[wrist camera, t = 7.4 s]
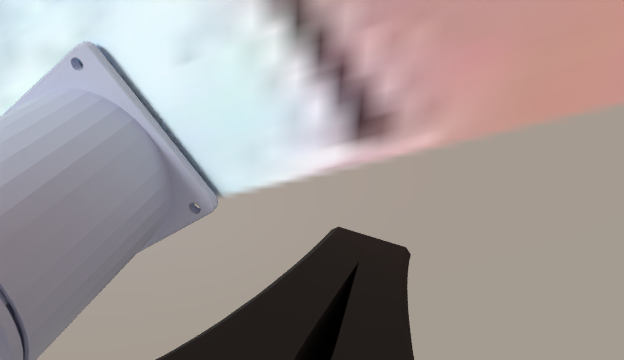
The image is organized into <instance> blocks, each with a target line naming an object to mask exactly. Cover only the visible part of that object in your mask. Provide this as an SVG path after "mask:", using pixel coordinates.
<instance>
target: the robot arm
mask: <svg viewBox="0 0 624 360" xmlns="http://www.w3.org/2000/svg"><path fill="white" fill-rule="evenodd" d="M78 59H80V60H81V62H82V64H83V67H82V66H81V65H80V64H79V62H78ZM194 203H196V204H197V205H198V206H199V207H200V208H197V207H196V206H195V205H194ZM217 205H218V200H217V197H216V195H215V194H214V193H213V191H212V190H211V189H210V188H209V186H208V185H207V184H206V183H205V181H204V180H203V179H202V178H201V176H200V175H199V174H198V173H197V171H196V170H195V169H194V168H193V166H192V165H191V164H190V163H189V161H188V160H187V159H186V158H185V156H184V155H183V154H182V153H181V151H180V150H179V149H178V148H177V146H176V145H175V144H174V143H173V141H172V140H171V139H170V138H169V136H168V135H167V134H166V133H165V131H164V130H163V129H162V128H161V126H160V125H159V124H158V123H157V121H156V120H155V119H154V118H153V116H152V115H151V114H150V113H149V111H148V110H147V109H146V107H145V106H144V105H143V104H142V102H141V101H140V100H139V99H138V97H137V96H136V95H135V94H134V92H133V91H132V90H131V89H130V87H129V86H128V85H127V84H126V82H125V81H124V80H123V79H122V77H121V76H120V75H119V74H118V72H117V71H116V70H115V69H114V67H113V66H112V65H111V64H110V62H109V61H108V60H107V59H106V57H105V56H104V55H103V54H102V52H101V51H100V50H99V49H98V47H97V46H95V45H94V44H93V43H91V42H83V43H80V44H78V45H76V46H75V47H74V48H73V49H72V50H71V51H70V52H69V53H68V54H67V55H66V56H65V57H64V58H62V59H61V60H60V61H59V62H58V63H57V64H56V65H55V66H54V67H53V68H52V69H51V70H50V71H49V72H48V73H47V74H45V75H44V76H43V77H42V78H41V79H40V80H39V81H38V82H37V83H36V84H35V85H34V86H33V87H32V88H31V89H30V90H28V91H27V92H26V93H25V94H24V95H23V96H22V97H21V98H20V99H19V100H18V101H17V102H16V103H15V104H14V105H13V106H12V107H10V108H9V109H8V110H7V111H6V112H5V113H4V114H3V115H2V116H1V117H0V360H36V359H37V358H38V357H39V356H40V355H41V354H42V353H43V352H44V351H45V350H46V349H47V348H48V347H49V346H50V344H52V342H53V341H54V340H55V339H56V338H57V337H58V336H59V335H60V334H61V333H62V332H63V331H64V330H65V328H67V326H69V324H70V323H71V322H72V321H73V320H74V319H75V318H76V317H77V316H78V315H79V314H80V313H81V312H82V311H83V310H84V309H85V307H86V306H87V305H88V304H89V303H90V302H91V301H92V300H93V299H94V298H95V297H96V296H97V295H98V294H99V293H100V292H101V291H102V289H103V288H104V287H105V286H106V285H107V284H108V283H109V282H110V281H111V280H112V279H113V278H114V277H115V276H116V275H117V274H118V273H119V271H120V270H121V269H122V268H123V267H124V266H125V265H126V264H127V263H128V262H129V261H130V260H131V259H132V258H133V256H135V254H136V253H138V252H140V251H142V250H144V249H145V248H147V247H149V246H151V245H153V244H154V243H156V242H158V241H160V240H162V239H164V238H166V237H167V236H169V235H171V234H173V233H175V232H177V231H178V230H180V229H182V228H184V227H186V226H188V225H189V224H191V223H193V222H195V221H197V220H199V219H200V218H202V217H204V216H206V215H208V214H210V213H211V212H212V211H213V210H214V209H215V208H216V207H217ZM409 259H410V253H409V251H408V250H407V248H406V247H403V246H400V245H396V244H393V243H390V242H387V241H383V240H380V239H376V238H373V237H370V236H367V235H364V234H360V233H357V232H354V231H350V230H347V229H344V228H341V227H337V228H335V229H333V230H331V231H330V232H329V233H328V234H327V235H326V236H325V237H324V238H323V239H322V240H321V241H320V242H319V243H318V244H317V245H316V246H315V247H314V248H313V249H312V250H311V251H310V252H309V253H308V254H306V255H305V256H304V257H303V258H302V259H301V260H300V261H299V262H297V264H295V265H294V266H293V267H292V268H290V269H289V270H288V271H287V272H286V273H284V274H283V275H282V276H281V277H279V278H278V279H277V280H276V281H275V282H273V283H272V284H271V285H269V286H268V287H267V288H266V289H265V290H263V291H262V292H261V293H259V294H258V295H257V296H256V297H254V298H253V299H251V300H250V301H248V302H247V303H245V304H244V305H243V306H241V307H240V308H239V309H237V310H236V311H234V312H233V313H231V314H230V315H229V316H227V317H226V318H224V319H223V320H222V321H220V322H218V323H217V324H215V325H214V326H212V327H211V328H209V329H208V330H206V331H204V332H203V333H201V334H200V335H198V336H197V337H195V338H193V339H191V340H190V341H188V342H186V343H185V344H183V345H181V346H180V347H178V348H176V349H175V350H173V351H171V352H169V353H167V354H166V355H164V356H162V357H160V358H158V359H156V360H414V356H413V350H412V343H411V333H410V325H409V315H408V300H407V299H408V298H407V296H408V295H407V277H408V265H409Z"/></svg>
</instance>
